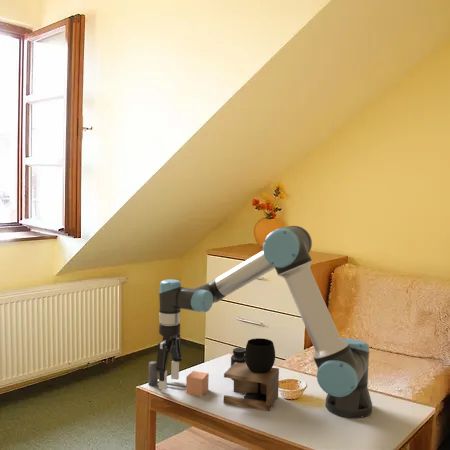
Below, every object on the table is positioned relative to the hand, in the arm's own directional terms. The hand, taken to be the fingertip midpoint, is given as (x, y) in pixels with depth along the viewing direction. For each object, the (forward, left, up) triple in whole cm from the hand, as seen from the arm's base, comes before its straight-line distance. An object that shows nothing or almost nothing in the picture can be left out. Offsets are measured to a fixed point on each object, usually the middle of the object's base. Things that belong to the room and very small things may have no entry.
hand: (169, 383), depth 189 cm
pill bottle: (-21, -17, -1) cm, 27 cm away
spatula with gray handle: (-3, 0, -1) cm, 3 cm away
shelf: (-31, 0, -1) cm, 31 cm away
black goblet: (-33, -2, -1) cm, 33 cm away
